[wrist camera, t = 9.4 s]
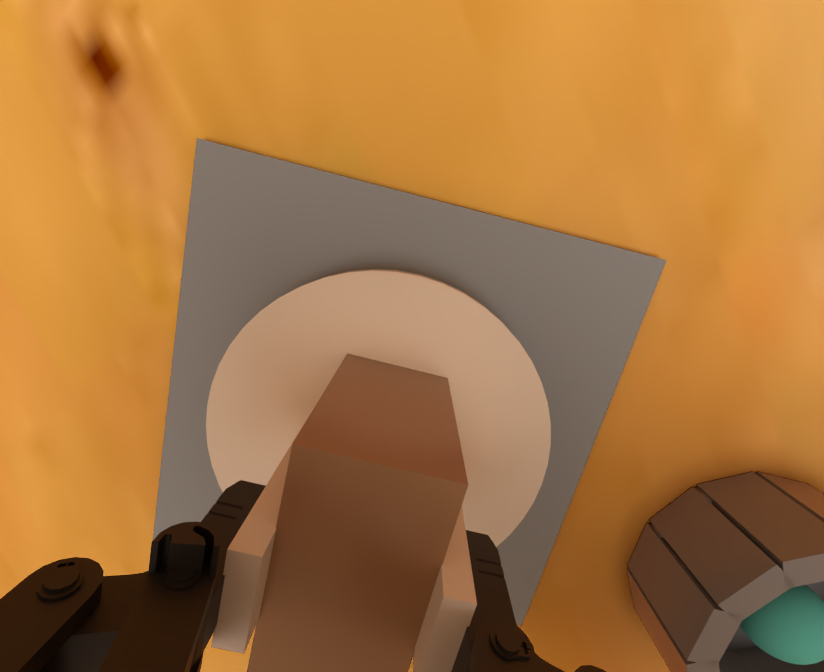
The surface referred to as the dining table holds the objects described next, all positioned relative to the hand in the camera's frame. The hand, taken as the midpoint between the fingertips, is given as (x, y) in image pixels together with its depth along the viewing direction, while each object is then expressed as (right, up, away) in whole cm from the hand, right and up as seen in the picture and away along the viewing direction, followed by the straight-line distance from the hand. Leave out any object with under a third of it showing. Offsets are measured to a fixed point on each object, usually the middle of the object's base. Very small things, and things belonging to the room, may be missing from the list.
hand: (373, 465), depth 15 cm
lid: (0, +1, +2) cm, 3 cm away
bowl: (+18, -7, +6) cm, 21 cm away
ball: (+18, -8, +5) cm, 21 cm away
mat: (0, +1, +5) cm, 5 cm away
